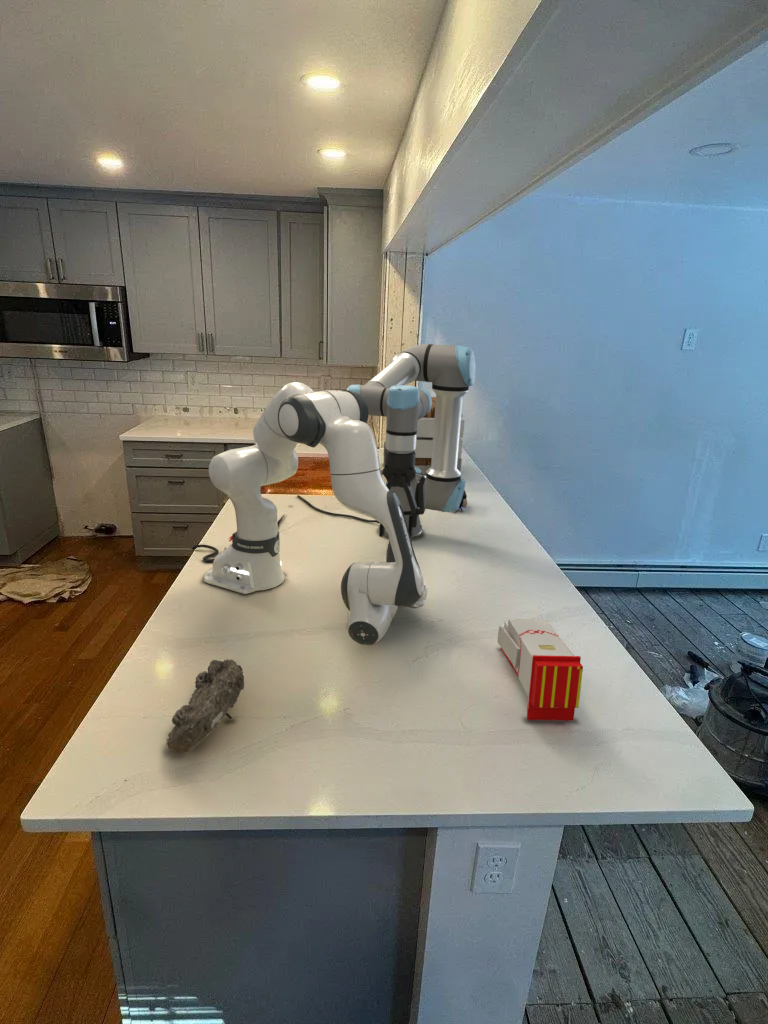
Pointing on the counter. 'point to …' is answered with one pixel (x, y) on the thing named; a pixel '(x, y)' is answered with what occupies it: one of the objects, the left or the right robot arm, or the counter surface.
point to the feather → (280, 520)
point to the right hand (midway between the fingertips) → (395, 536)
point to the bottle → (390, 554)
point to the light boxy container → (429, 439)
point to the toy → (542, 668)
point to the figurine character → (463, 501)
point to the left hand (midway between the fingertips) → (394, 577)
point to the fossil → (206, 705)
